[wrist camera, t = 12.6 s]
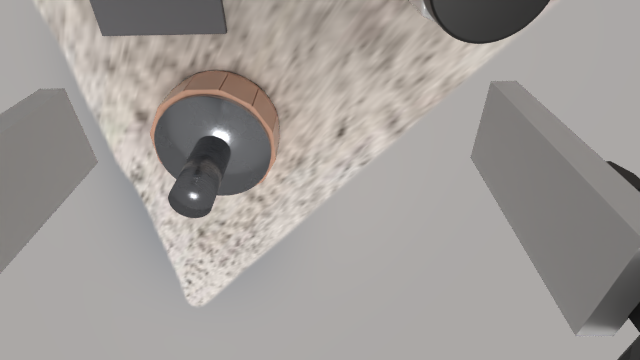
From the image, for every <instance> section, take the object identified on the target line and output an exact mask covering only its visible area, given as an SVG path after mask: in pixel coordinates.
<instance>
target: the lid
mask: <svg viewBox="0 0 640 360" xmlns="http://www.w3.org/2000/svg"><path fill="white" fill-rule="evenodd" d="M154 143H155V148H156V152H157V154H158V157H159V159H160V161H161V162H162V164H163V165H164V167H165V168H166V169H167V171H168V172H169V173H170V174H171V175H172V176H173V177H175V178H176V179H177V180H176V182H175V184H174V186H173V187H172V189H171V191H170V193H169V196H168V200H169V203H170V205H171V207H172V208H173V209H174V210H175V211H176V212H178V213H179V214H181V215H183V216H186V217H190V218H199V217H203V216H205V215H207V214H208V213H209V212H210V211H211V209H212V206H213V203H214V201H215V198H216V195H222V196H223V195H234V194H238V193H242V192H244V191H247V190H249V189H251V188H252V187H254V186H255V185H256V184H258V183H259V182H260V181H261V180H262V179H263V177H264V176H265V174H266V172H267V170H268V168H269V164H270V160H271V153H272V152H271V142H270V138H269V135H268V133H267V131H266V129H265V127H264V125H263V124H262V122H261V121H260V120H259V119H258V118H257V116H256V115H255V114H254V113H252V112H251V111H250V110H249V109H248V108H246V107H245V106H243V105H242V104H240V103H238V102H236V101H234V100H232V99H229V98H226V97H223V96H219V95H213V94H196V95H191V96H187V97H184V98H181V99H179V100H178V101H176V102H174V103H173V104H172V105H170V106H169V107H168V108H167V109H166V110H165V112H164V113H163V114H162V116H161V117H160V119H159V120H158V122H157V125H156V128H155V133H154Z"/></svg>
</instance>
